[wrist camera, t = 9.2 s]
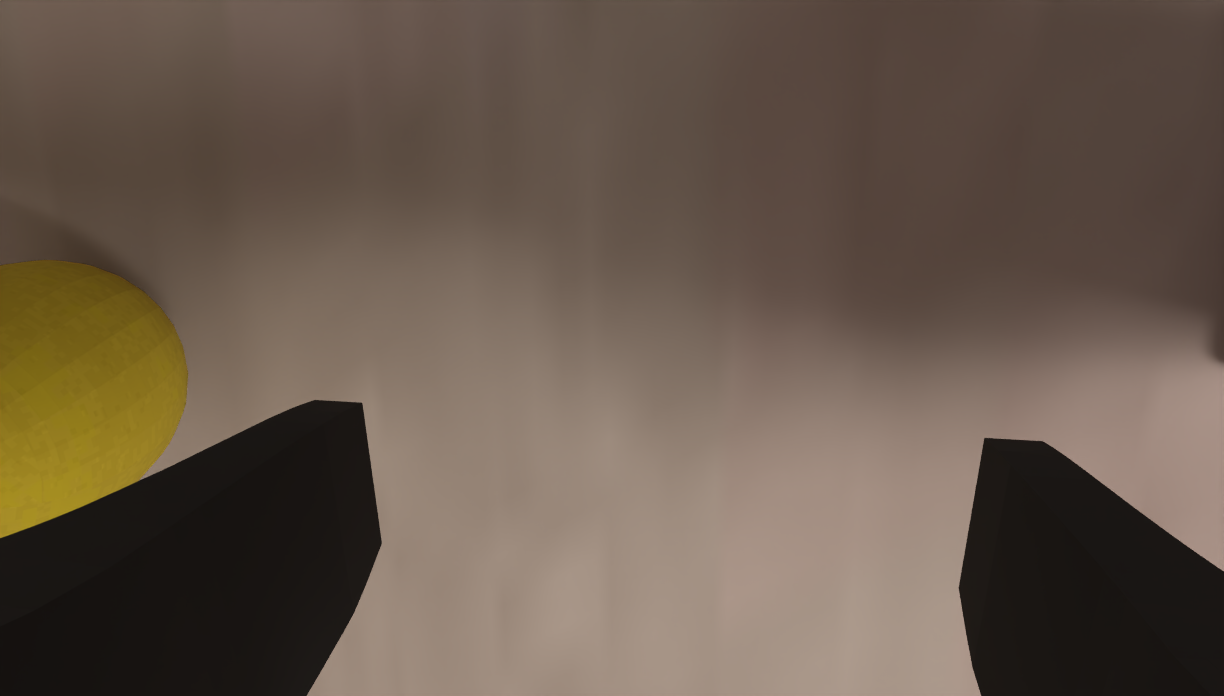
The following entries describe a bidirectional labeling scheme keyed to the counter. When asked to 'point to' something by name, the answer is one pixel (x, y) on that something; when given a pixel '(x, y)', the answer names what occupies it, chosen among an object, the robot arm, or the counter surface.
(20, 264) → the lemon
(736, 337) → the counter surface
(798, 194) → the counter surface
